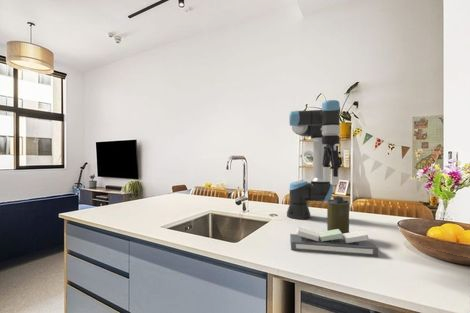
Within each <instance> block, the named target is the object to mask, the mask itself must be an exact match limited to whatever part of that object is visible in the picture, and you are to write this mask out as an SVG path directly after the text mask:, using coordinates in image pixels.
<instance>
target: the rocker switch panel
mask: <svg viewBox="0 0 470 313" xmlns="http://www.w3.org/2000/svg"><path fill="white" fill-rule="evenodd" d="M289 235H290V236H289V238H290V239H289V242H290V250H291V251H303V252H313V253H314V252H316V253H327V254H330V253H331V254H340V255H341V254H342V255H355V256H368V257H378V256H379V247H378V246H377V245H376V244H375V243H374V242H373V241H372V240H370V239H369V240H364V241H357V242H351V243H346V242H345V241H344V239H343V238H340V239H334V240H328V241H322V242H321V240H320V238H319V240H318V241H315V240H312V239H309V238H305V237H302V236H299V235H297V233H296V234H295V233H290V234H289Z"/></svg>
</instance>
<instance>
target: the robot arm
mask: <svg viewBox="0 0 470 313" xmlns="http://www.w3.org/2000/svg"><path fill="white" fill-rule="evenodd" d="M340 103H341V102H340V101H339V100H336V99H330V100H325V101H323V102H321V109H315V110H314V109H313V110H294V111H293V110H292V111H290V112H289V113H288V114H289V118H288V119H289V127H290V126H291V129H292V131H293V133H294V134H296V135H298V136H301V137H308V138H309V137H310V140H311V141H312V142H313V143H312V145H313V146H312V147H313V148H312V149H313V152H312V153H313V156H312V158H313V160H312V161H313V163H312V164H313V173H312V174H313V178H312V179H311V180H310V183H309V182H308V180H299V181H292V182H290V184H289V188H288V190H289V205H288V208H287V211H286V216H287V217H288V218H290V219H295V220H307V219H310V218H311V211H310V208H309V205H308V204H309V203H308V202H320V203H321V202H322V203H327V201H328V200H332V199H333V198H332V197H333V191H334V190H333V188H334V187H333V186H334V185H339V169H340V168H341V161H340V155H339V144H340V142H341V139H340V137H341V136H340V135H341V125H340V122H341V120H340V119H341V118H340V116H341V114H340V113H341V111H340V110H341V105H340ZM330 175H331V176H330Z"/></svg>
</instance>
